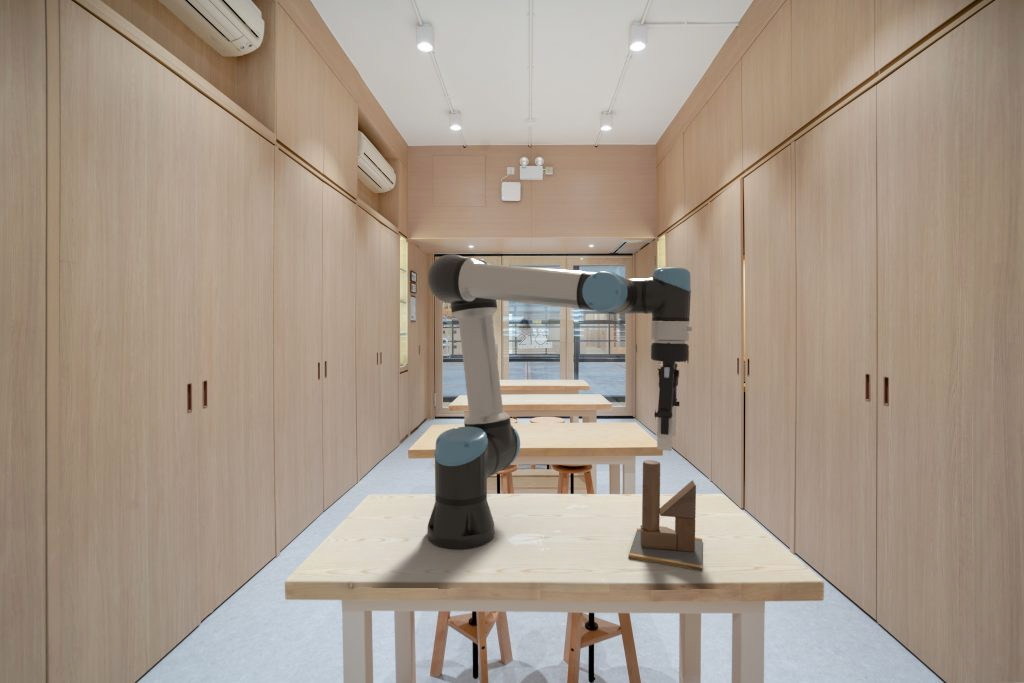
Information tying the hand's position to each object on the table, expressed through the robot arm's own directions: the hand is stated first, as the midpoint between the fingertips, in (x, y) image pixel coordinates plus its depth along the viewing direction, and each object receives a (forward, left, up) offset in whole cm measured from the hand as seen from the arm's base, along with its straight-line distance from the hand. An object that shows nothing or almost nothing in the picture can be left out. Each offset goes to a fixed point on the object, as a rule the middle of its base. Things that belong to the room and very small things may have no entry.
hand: (666, 442), depth 103 cm
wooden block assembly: (0, 0, -23) cm, 23 cm away
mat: (0, 0, -23) cm, 23 cm away
